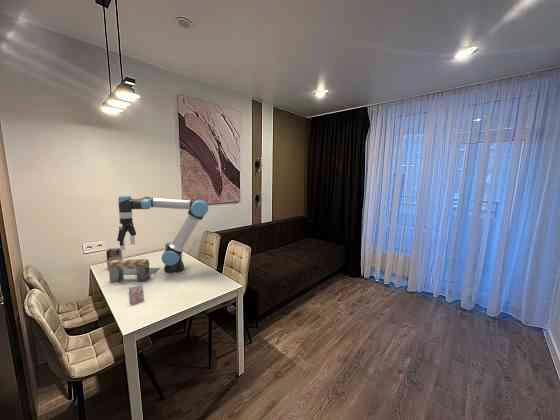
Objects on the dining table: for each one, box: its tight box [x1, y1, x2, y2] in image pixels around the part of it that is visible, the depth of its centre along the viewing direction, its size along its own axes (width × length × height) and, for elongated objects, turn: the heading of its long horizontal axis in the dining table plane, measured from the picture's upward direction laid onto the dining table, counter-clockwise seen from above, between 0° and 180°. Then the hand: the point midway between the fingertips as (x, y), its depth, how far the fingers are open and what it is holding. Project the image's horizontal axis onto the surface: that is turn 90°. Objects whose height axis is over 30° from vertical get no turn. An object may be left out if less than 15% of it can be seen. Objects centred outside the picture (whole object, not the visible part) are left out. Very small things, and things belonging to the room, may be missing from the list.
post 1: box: [107, 266, 125, 284], centre depth 163 cm, size 6×7×12 cm
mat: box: [123, 267, 160, 276], centre depth 180 cm, size 30×11×1 cm, turn 98°
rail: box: [109, 258, 150, 269], centre depth 163 cm, size 24×5×5 cm, turn 98°
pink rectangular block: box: [128, 283, 145, 306], centre depth 137 cm, size 4×7×10 cm, turn 142°
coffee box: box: [105, 247, 123, 268], centre depth 184 cm, size 9×6×16 cm
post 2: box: [136, 265, 151, 283], centre depth 165 cm, size 6×7×12 cm
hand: (127, 247), depth 161 cm, fingers open, 13 cm apart
